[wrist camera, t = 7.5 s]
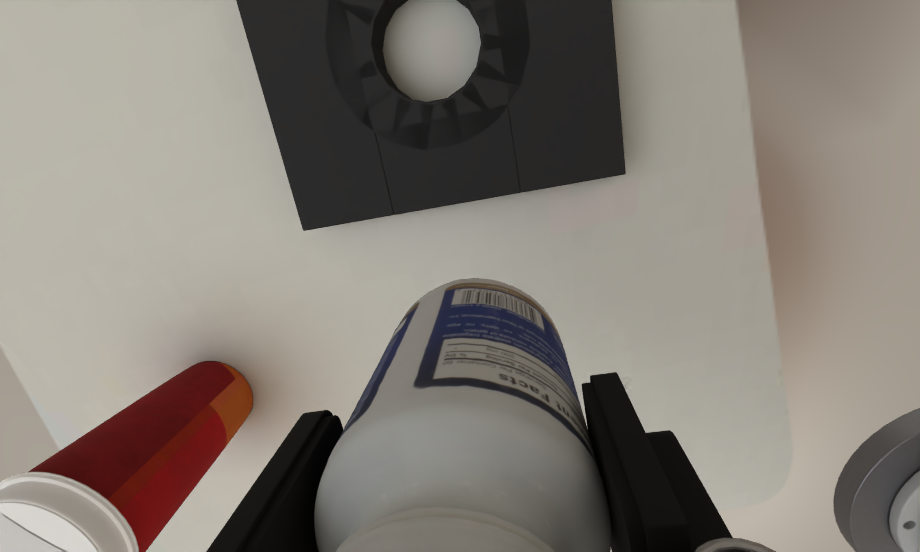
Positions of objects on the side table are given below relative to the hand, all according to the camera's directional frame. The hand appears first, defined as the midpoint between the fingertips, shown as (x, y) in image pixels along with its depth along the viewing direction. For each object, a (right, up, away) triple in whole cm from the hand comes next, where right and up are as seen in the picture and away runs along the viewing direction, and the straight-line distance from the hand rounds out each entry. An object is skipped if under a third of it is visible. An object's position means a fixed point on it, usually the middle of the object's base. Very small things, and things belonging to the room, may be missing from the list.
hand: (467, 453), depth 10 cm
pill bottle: (0, +2, +5) cm, 5 cm away
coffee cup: (-20, -5, +27) cm, 33 cm away
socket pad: (-2, +17, +18) cm, 24 cm away
